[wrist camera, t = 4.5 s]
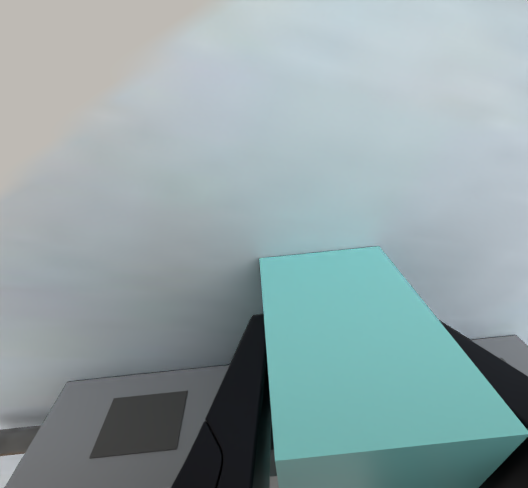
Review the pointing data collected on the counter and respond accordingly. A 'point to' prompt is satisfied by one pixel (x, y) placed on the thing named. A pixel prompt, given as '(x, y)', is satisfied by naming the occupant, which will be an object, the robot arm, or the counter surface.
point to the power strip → (139, 427)
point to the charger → (372, 381)
